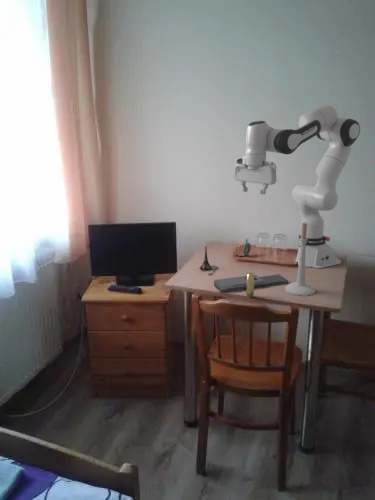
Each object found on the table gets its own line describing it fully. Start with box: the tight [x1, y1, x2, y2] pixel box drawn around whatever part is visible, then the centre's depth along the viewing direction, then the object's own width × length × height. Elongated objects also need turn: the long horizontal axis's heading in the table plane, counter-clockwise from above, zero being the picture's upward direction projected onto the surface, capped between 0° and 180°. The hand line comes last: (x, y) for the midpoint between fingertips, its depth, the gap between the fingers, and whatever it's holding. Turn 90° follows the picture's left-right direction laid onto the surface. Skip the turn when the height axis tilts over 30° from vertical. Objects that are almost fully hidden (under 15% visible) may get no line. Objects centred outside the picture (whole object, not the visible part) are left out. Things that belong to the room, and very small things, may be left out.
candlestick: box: [284, 222, 317, 297], centre depth 188 cm, size 13×13×30 cm
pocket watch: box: [234, 238, 252, 257], centre depth 237 cm, size 8×8×10 cm
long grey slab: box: [213, 274, 288, 293], centre depth 199 cm, size 32×8×3 cm, turn 107°
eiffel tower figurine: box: [198, 245, 220, 276], centre depth 217 cm, size 15×10×13 cm
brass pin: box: [245, 272, 255, 299], centre depth 185 cm, size 3×3×10 cm
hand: (253, 192), depth 195 cm, fingers open, 8 cm apart
